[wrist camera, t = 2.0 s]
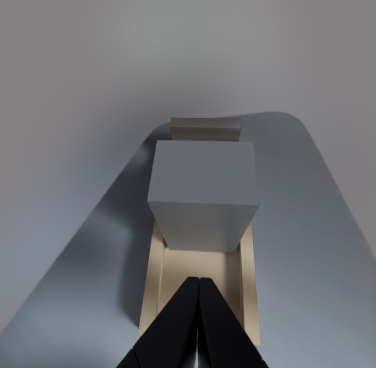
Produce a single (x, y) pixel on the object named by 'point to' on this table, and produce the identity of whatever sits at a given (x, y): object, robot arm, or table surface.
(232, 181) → the grey rectangular box
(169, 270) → the sleeve track
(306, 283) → the table surface
